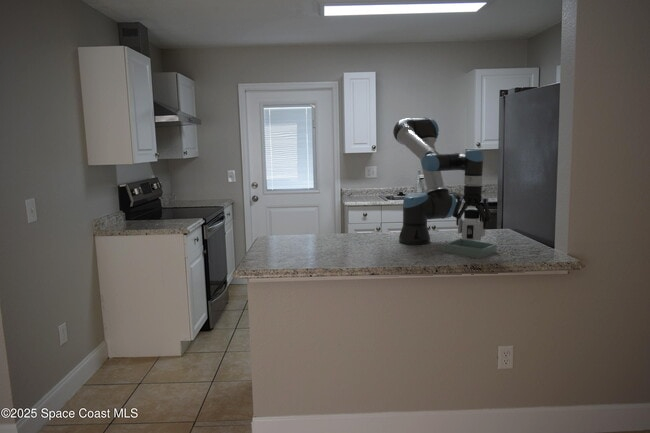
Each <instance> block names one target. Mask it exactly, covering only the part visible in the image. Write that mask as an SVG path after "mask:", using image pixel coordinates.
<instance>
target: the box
mask: <svg viewBox="0 0 650 433" xmlns="http://www.w3.org/2000/svg"><path fill="white" fill-rule="evenodd" d="M461 244H462V245H461ZM463 245H464V246H463ZM497 248H498V244H497V243H492V242H491V243H490V242H487V241H486V242H485V241H481V240H463V239H462V237H461V238H457V239H455V240H451V241H448V242H446V243H444V244H443V252H444V253H450V254H454V255H460V256H465V257H473V258H478V259H483V258H485V257H487V256H488V257H489V256H490V255H492V253H493V254H495V253H497V252H498V251H497Z"/></svg>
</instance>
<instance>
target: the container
mask: <svg viewBox="0 0 650 433" xmlns="http://www.w3.org/2000/svg"><path fill="white" fill-rule="evenodd" d="M463 216H464V217H463V220H462V233H461V239H463V240H473V241H481V240H482V237H481V222H482V221H480V217H481V216H480V214H479V212H478V210H477V209H473V208H471V209H469V208H467V209H466V210H465V211H464V213H463Z"/></svg>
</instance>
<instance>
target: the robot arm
mask: <svg viewBox="0 0 650 433" xmlns="http://www.w3.org/2000/svg"><path fill="white" fill-rule="evenodd" d="M439 132H440V129H439V124H438V123H437V121H436V120H435V119H433V118H430V117H418V118H417V117H415V118H414V117H405V118H401V119H399V121H397V122H396V124H395V125H394V127H393V131H392V133H393V137H394V139H395V141H396V142H398V143H399V144H401V145H404V146H405V147H406V148H407V149H409V150H410V152H412V154H414V155H415V156H416V157H417V158H418V159H419V160H420V163H421V164H420V165H421V170H422V174H423V179H424V181H425V186H426V190H427V191H426V192H418V193H417V192H416V193H409V194H407V195H405V197H404V198H403V203H402V227H401V229H400V230H401V231H400V233H399V236H398V241H399V243H402V244H405V245H413V246H414V245H415V246H417V245H419V246H421V245H426V244H427V245H428V244H430V243H431V236H430V235H431V234H430V232H429V229H428V220H439V219H449V218H451V217H453V218H455V220H456V222H455V223H456V227H457V234H462V220H464V218H463V216H464V211H465V210H468V207H475V208H476V210H478V212H479V214H480V216H479V217H480V219H481V220H482V221H480V222H481V238H482V237H485V236H486V230H487V229H488V222H489V221H492V220H493V217H492V213H491V209H490V206H489V201H490V200H489V198H488V197H483V196H482V193H483V192H482V191H483V190H482V189H483V186H482V185H483V169H484V152H483V149H466V150H465V152H464V153H461V152H455V153H439V152H438V151H437V149H436V147H435V143H436V142H437V139H438V136H439ZM444 171H445V172H446V171H449V172H450V171H464V178H463V180H464V186H463V187H464V188H463V196H462V195H459V196H458V195H457V197H456V196H454V195H453V194H452V193H451V194H450V191H449V188H447V187H445V185H444V180H443V175H442V172H444ZM463 201H464V203H463ZM462 203H463V204H462ZM481 203H482V204H481ZM461 205H462V207H461ZM482 206H483V207H482Z"/></svg>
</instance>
